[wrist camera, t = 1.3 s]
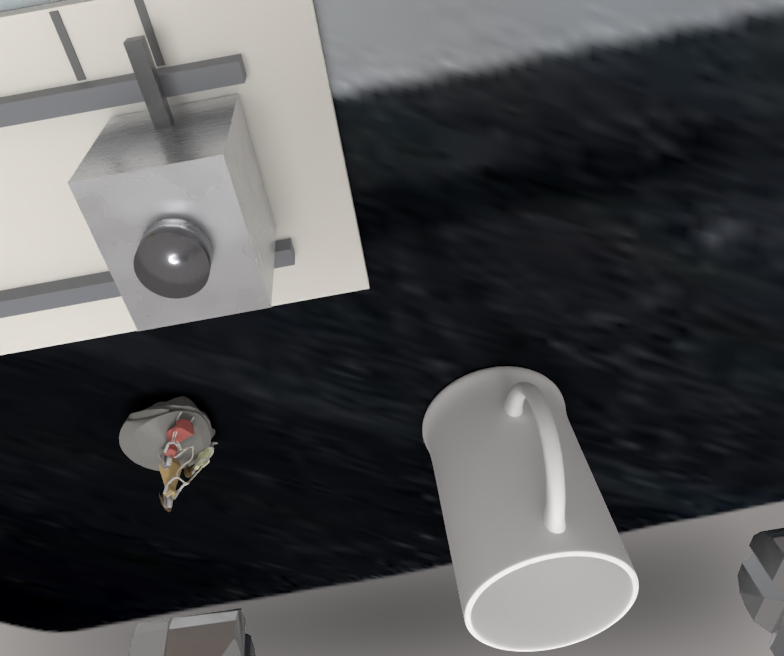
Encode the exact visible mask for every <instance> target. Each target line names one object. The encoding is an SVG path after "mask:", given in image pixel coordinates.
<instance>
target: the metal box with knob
mask: <svg viewBox="0 0 784 656" xmlns="http://www.w3.org/2000/svg"><path fill="white" fill-rule="evenodd" d="M123 44H124V47H125V49H126V52H127V55H128V57H129V60H130V63H131V65H132V68H133V71H134V74H135V76H136V79H137V82H138V84H139V87H140V90H141V93H142V95H143V98H144V101H145V103H146V106H147V109H148V110H147V111H141V112H136V113H130V114H125V115H119V116H114V117H111V118H110V119H109V121H108V122H107V124H106V125H105V127H104V128H103V130H102V131H101V133H100V134H99V136H98V137H97V139H96V140H95V142H94V143H93V145H92V146H91V148H90V149H89V151H88V152H87V154H86V156H85V157H84V159H83V160H82V162H81V163H80V165H79V166H78V168H77V169H76V171H75V172H74V174H73V175H72V177H71V178H70V180H69V181H68V185H69V187H70V189H71V191H72V193H73V195H74V197H75V200H76V202H77V204H78V206H79V208H80V210H81V212H82V214H83V216H84V219H85V221H86V223H87V225H88V227H89V229H90V231H91V233H92V235H93V237H94V240H95V242H96V244H97V246H98V248H99V250H100V252H101V254H102V256H103V259H104V261H105V263H106V265H107V267H108V269H109V271H110V273H111V275H112V277H113V280H114V282H115V284H116V286H117V288H118V290H119V292H120V294H121V296H122V299H123V301H124V303H125V305H126V307H127V309H128V311H129V313H130V315H131V317H132V320H133V322H134V324H135V326H136V328H137V330H138V331H143V330H148V329H154V328H159V327H165V326H170V325H176V324H181V323H187V322H192V321H198V320H204V319H209V318H215V317H220V316H226V315H231V314H237V313H242V312H248V311H253V310H259V309H264V308H270V307H271V304H272V289H273V274H274V259H275V245H276V230H277V229H276V226H275V222H274V219H273V215H272V212H271V208H270V205H269V201H268V198H267V194H266V191H265V187H264V183H263V180H262V176H261V173H260V169H259V166H258V162H257V159H256V155H255V152H254V148H253V145H252V141H251V138H250V134H249V131H248V127H247V124H246V120H245V116H244V113H243V109H242V106H241V102H240V99H239V95H238V94H235V95H229V96H224V97H218V98H213V99H207V100H202V101H196V102H191V103H185V104H180V105H174V106H169V104H168V101H167V98H166V95H165V93H164V90H163V87H162V84H161V81H160V78H159V75H158V73H157V70H156V67H155V64H154V61H153V58H152V55H151V52H150V50H149V47H148V44H147V41H146V38H145V35H142V36H137V37H131V38H127V39H126V40H125V41H124V42H123Z"/></svg>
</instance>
